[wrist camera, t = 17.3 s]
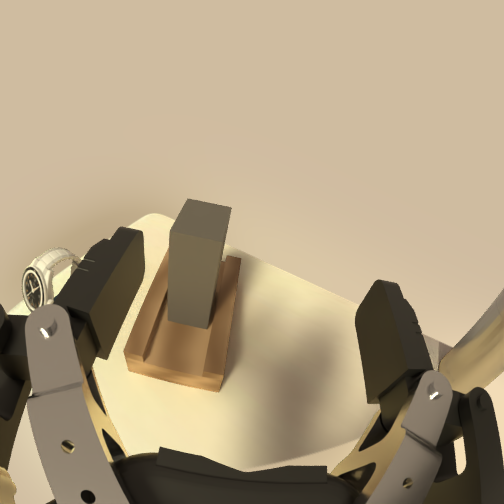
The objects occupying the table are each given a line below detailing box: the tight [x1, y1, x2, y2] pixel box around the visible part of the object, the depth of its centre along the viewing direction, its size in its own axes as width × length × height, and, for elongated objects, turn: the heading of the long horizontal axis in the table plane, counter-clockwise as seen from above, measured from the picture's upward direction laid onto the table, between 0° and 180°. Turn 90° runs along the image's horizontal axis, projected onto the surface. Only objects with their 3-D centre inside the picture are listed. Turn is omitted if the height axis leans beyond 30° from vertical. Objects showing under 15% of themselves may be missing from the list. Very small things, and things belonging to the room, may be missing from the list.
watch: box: [22, 247, 82, 312], centre depth 26 cm, size 6×8×11 cm
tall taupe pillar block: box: [168, 199, 232, 329], centre depth 30 cm, size 5×6×12 cm
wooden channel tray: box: [124, 248, 241, 392], centre depth 34 cm, size 10×18×4 cm, turn 176°
